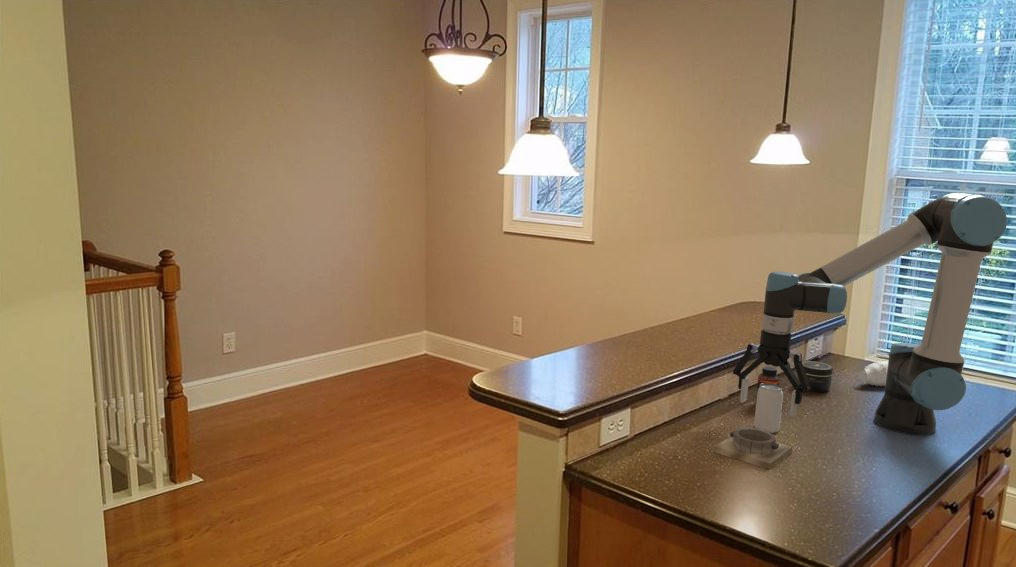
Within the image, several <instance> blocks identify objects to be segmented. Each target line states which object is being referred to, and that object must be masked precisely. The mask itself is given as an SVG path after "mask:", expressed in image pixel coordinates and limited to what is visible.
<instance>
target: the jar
mask: <svg viewBox="0 0 1016 567" xmlns="http://www.w3.org/2000/svg"><path fill="white" fill-rule="evenodd" d="M802 364H803V367H804V369H805V372H806V375H807V378H808V381H809V383H810V386H811V389H810V390H809V391H808V392H813V393H826V392H828V391H829V390H830V388H831V386H832V378H833V371H834V370H833V366H832V365H830V364H827V363H825V362H820V361H814V360H813V361H812V360H806V361H805V360H804V361H802ZM797 378H798V380H799V377H798V376H797ZM799 381H800V380H799Z"/></svg>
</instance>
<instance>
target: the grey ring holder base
mask: <svg viewBox="0 0 1016 567" xmlns="http://www.w3.org/2000/svg"><path fill="white" fill-rule="evenodd" d="M729 434H730V435H729V437H727V438H725V439H723V440H722V441H720V442H719V443H717V444H716V445H714V446H713V453H716V454H718V455H719V454H720V455H723V456H726V457H729V458H732V459H736V460H738V461H740V462H744V463H748V464H751V465H754V466H757V467H761V468H763V469H767V470H770V469H772V468H773V467H774V466H776V465H778V463H780V462H781V461H783V460H784V459H785V458H787V457H788V456H789V455H791V454H792V453H793V446H790V445H788V444H784V443H780V442H777V441H776V435H775V434H774V433H769V432H767V431H764V430H761V429H756V428H755V427H740V428H737V429H735V430H733V431H730V433H729Z"/></svg>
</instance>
